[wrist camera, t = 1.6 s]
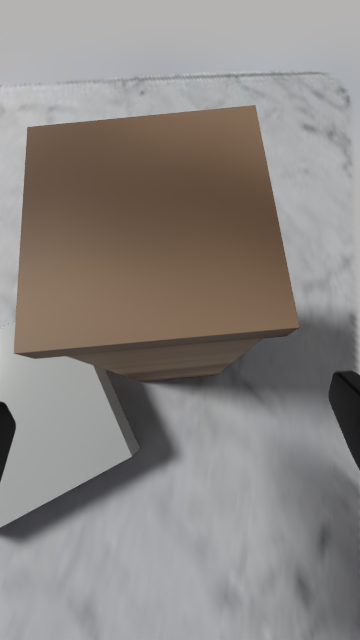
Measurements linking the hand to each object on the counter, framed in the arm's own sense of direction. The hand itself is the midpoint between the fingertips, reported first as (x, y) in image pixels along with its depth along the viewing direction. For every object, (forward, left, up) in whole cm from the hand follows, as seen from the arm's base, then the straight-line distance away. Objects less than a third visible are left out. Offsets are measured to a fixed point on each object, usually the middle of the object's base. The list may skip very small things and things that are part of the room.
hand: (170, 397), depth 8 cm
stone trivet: (+3, +9, -11) cm, 15 cm away
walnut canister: (+3, -1, -11) cm, 12 cm away
